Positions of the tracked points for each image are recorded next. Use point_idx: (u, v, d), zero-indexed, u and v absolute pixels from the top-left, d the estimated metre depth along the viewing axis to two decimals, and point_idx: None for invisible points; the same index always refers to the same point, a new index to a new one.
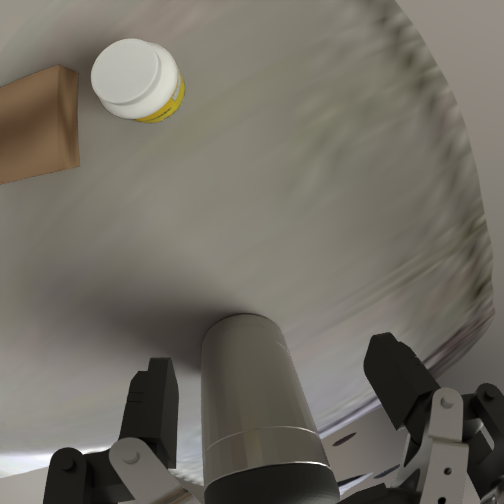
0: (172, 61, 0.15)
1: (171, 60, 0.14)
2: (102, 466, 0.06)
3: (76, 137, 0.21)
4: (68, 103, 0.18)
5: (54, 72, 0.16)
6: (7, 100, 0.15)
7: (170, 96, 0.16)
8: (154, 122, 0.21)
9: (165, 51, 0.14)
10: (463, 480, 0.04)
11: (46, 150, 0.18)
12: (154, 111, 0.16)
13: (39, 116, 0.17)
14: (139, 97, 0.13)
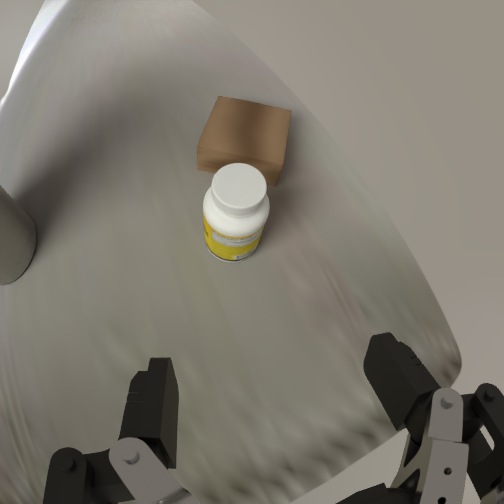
0: (241, 231, 0.22)
1: (241, 230, 0.22)
2: (102, 466, 0.06)
3: None
4: None
5: (277, 160, 0.29)
6: (274, 125, 0.31)
7: (212, 226, 0.23)
8: None
9: (252, 228, 0.22)
10: (463, 480, 0.04)
11: (217, 141, 0.29)
12: (203, 212, 0.23)
13: (246, 143, 0.30)
14: (212, 191, 0.21)
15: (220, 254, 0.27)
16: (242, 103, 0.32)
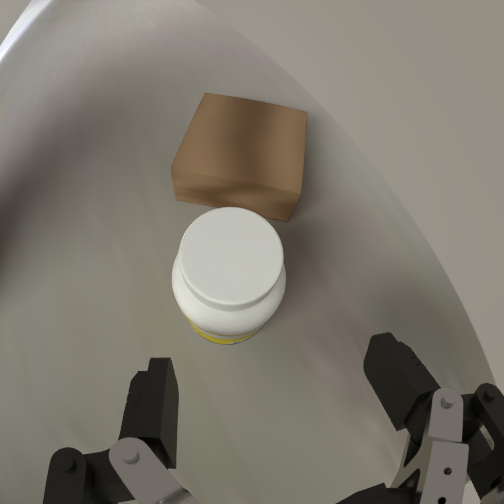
0: (237, 329, 0.12)
1: (238, 328, 0.12)
2: (102, 466, 0.06)
3: (209, 204, 0.23)
4: (250, 200, 0.21)
5: (293, 187, 0.20)
6: (286, 132, 0.22)
7: (188, 317, 0.13)
8: None
9: (256, 322, 0.13)
10: (463, 480, 0.04)
11: (201, 159, 0.20)
12: None
13: (245, 161, 0.20)
14: (180, 268, 0.11)
15: (208, 339, 0.17)
16: (238, 102, 0.22)
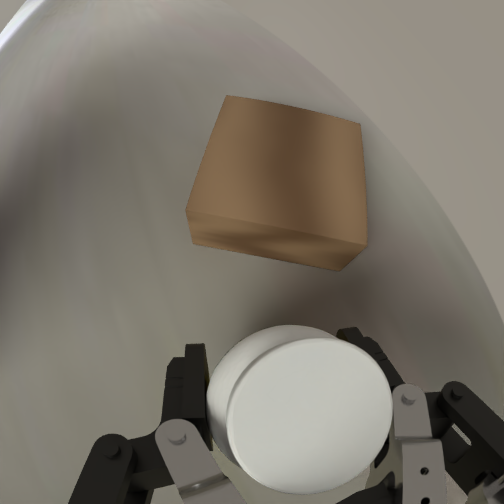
0: None
1: None
2: (146, 450, 0.06)
3: (238, 250, 0.17)
4: (295, 249, 0.16)
5: (356, 235, 0.14)
6: (339, 152, 0.16)
7: None
8: None
9: None
10: (443, 476, 0.04)
11: (229, 195, 0.14)
12: (209, 429, 0.08)
13: (290, 197, 0.14)
14: (231, 447, 0.05)
15: None
16: (272, 108, 0.17)
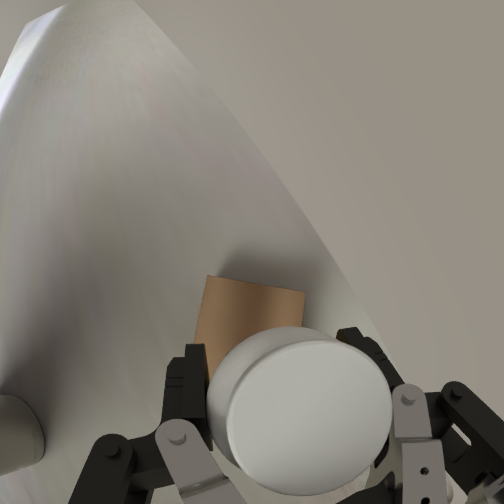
0: None
1: None
2: (146, 450, 0.06)
3: None
4: None
5: None
6: (283, 325, 0.25)
7: None
8: None
9: None
10: (443, 476, 0.04)
11: (212, 365, 0.23)
12: (210, 430, 0.08)
13: None
14: (231, 449, 0.05)
15: None
16: (240, 288, 0.26)
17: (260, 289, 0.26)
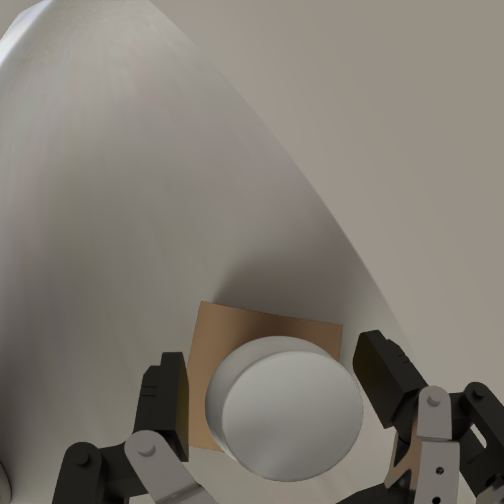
0: None
1: None
2: (117, 460, 0.06)
3: None
4: None
5: None
6: None
7: None
8: None
9: None
10: (456, 478, 0.04)
11: (208, 431, 0.15)
12: None
13: None
14: (225, 441, 0.07)
15: None
16: (249, 321, 0.17)
17: (279, 322, 0.17)
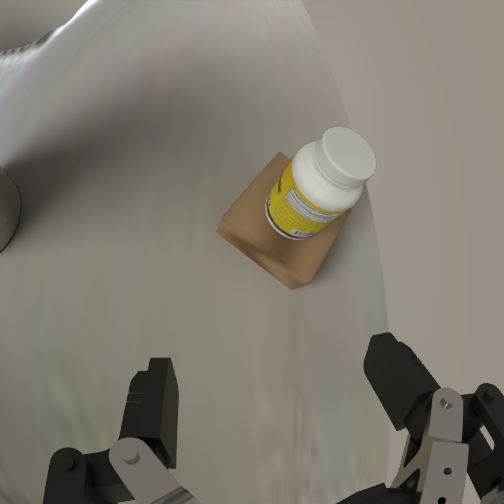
0: (327, 202, 0.18)
1: (328, 200, 0.18)
2: (102, 466, 0.06)
3: (239, 248, 0.28)
4: (271, 264, 0.26)
5: (307, 274, 0.24)
6: None
7: (296, 182, 0.19)
8: (272, 188, 0.24)
9: (339, 204, 0.18)
10: (463, 480, 0.04)
11: (250, 219, 0.24)
12: (293, 163, 0.19)
13: (282, 235, 0.25)
14: (320, 143, 0.16)
15: (279, 220, 0.23)
16: None
17: None
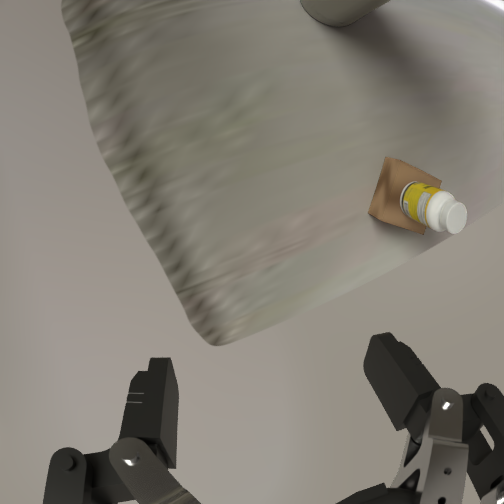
0: (430, 213, 0.31)
1: (431, 214, 0.30)
2: (102, 466, 0.06)
3: (381, 174, 0.39)
4: (381, 195, 0.39)
5: (384, 217, 0.38)
6: (412, 220, 0.39)
7: (434, 195, 0.30)
8: (422, 183, 0.35)
9: (431, 220, 0.31)
10: (463, 480, 0.04)
11: (403, 175, 0.36)
12: (441, 191, 0.30)
13: (399, 196, 0.37)
14: (456, 202, 0.28)
15: (409, 192, 0.35)
16: None
17: None
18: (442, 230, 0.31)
